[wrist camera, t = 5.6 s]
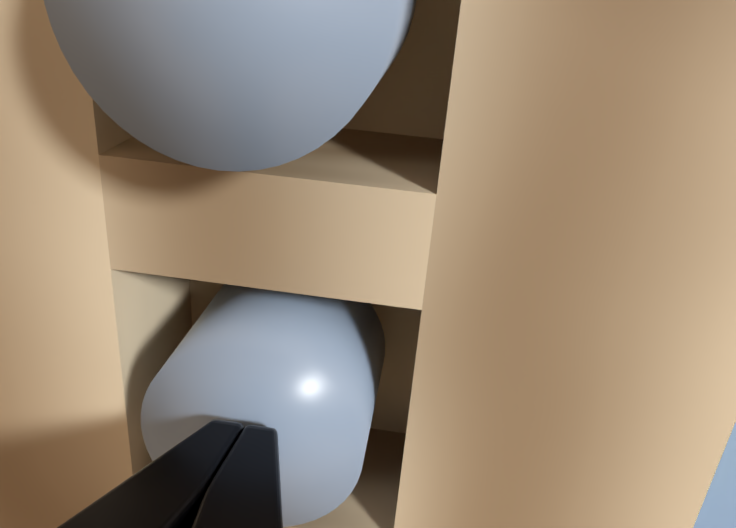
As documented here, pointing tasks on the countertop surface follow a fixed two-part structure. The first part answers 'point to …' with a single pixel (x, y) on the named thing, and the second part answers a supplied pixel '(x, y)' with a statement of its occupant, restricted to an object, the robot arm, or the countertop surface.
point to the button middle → (230, 70)
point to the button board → (407, 266)
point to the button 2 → (278, 387)
